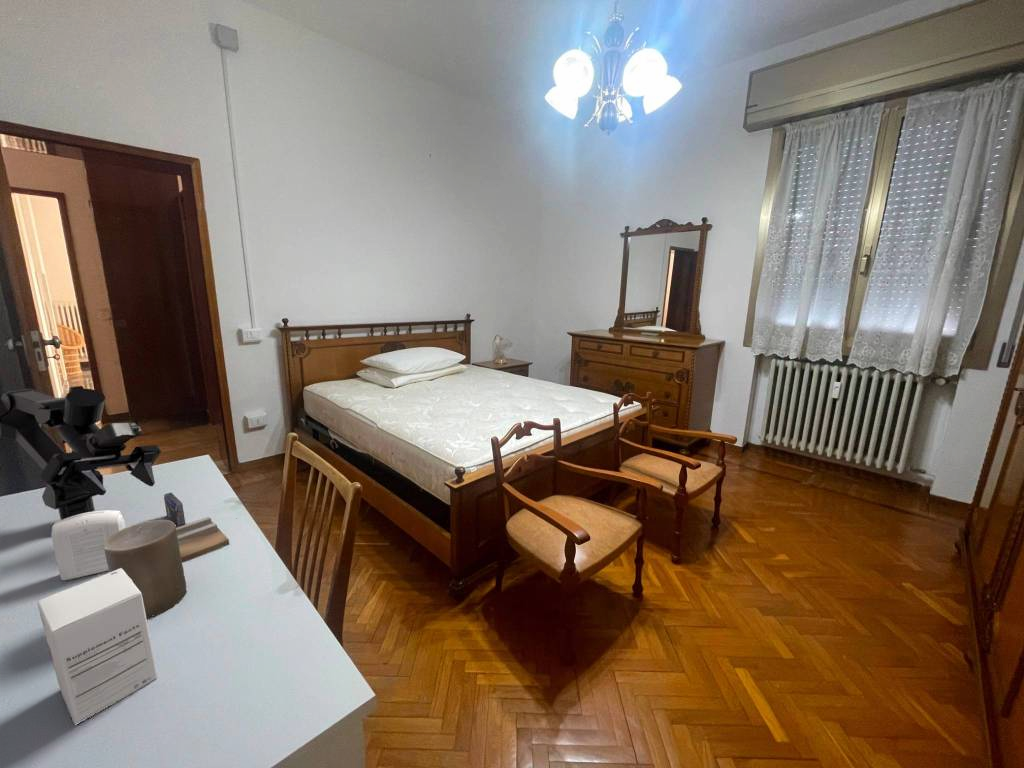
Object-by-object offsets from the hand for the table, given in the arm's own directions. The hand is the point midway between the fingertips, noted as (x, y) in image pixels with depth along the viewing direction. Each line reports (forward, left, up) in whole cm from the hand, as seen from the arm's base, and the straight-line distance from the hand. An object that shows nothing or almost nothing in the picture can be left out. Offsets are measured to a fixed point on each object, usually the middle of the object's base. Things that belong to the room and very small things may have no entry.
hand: (129, 488), depth 87 cm
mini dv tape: (-9, +8, -15) cm, 19 cm away
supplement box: (+36, -10, -15) cm, 40 cm away
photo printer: (+1, -7, -15) cm, 16 cm away
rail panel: (+4, +7, -15) cm, 17 cm away
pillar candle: (+20, -2, -15) cm, 25 cm away
